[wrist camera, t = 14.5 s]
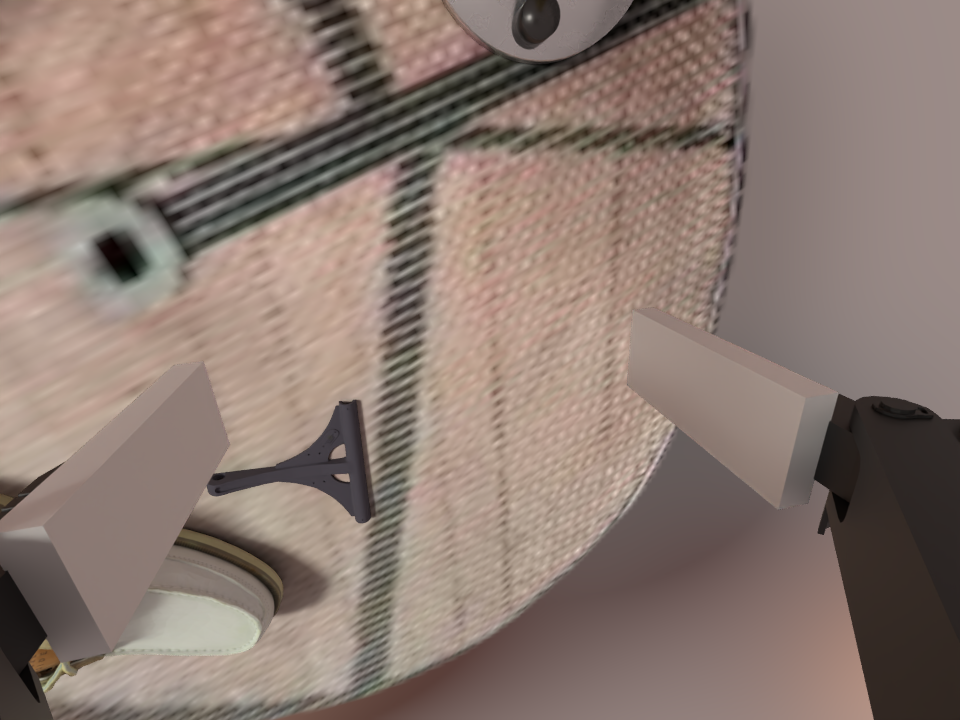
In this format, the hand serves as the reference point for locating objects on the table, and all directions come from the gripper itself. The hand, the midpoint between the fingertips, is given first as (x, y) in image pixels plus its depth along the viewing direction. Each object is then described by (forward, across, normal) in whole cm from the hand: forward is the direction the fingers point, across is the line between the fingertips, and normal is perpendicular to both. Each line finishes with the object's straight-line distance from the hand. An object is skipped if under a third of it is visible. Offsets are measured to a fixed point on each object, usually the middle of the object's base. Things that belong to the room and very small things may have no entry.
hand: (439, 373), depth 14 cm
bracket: (+30, -14, -21) cm, 39 cm away
